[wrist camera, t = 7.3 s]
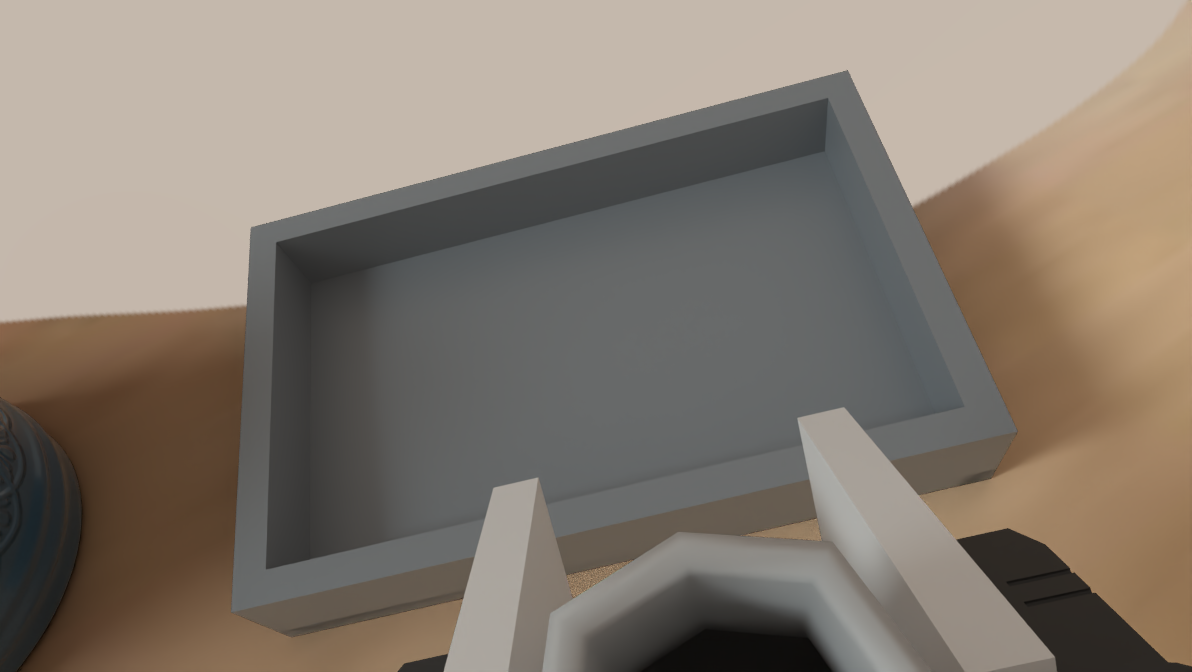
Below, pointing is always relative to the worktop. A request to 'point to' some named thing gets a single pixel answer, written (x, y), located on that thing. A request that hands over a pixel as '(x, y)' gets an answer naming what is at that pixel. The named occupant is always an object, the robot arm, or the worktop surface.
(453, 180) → the charcoal tray
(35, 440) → the canister
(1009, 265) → the worktop surface
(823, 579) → the flask
